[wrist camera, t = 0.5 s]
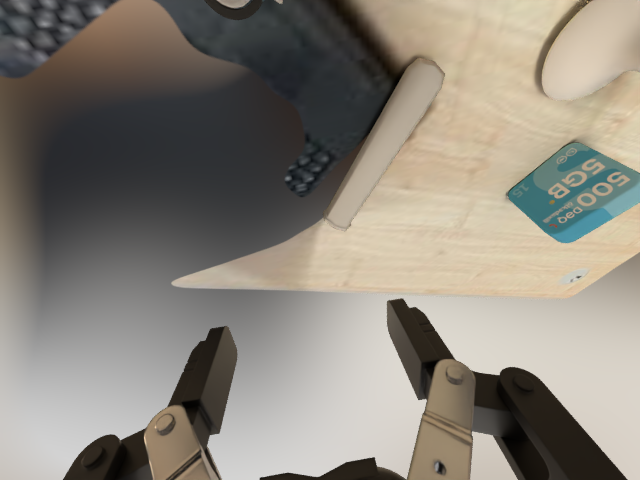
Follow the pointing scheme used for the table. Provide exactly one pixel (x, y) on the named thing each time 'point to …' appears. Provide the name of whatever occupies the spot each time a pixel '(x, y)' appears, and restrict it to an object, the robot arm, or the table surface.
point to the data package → (576, 192)
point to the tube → (385, 140)
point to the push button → (225, 3)
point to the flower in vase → (593, 49)
